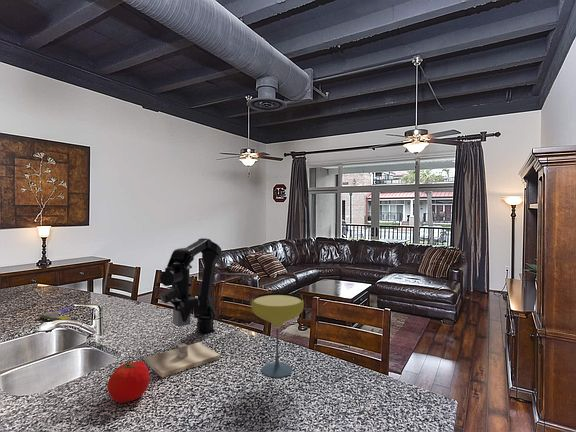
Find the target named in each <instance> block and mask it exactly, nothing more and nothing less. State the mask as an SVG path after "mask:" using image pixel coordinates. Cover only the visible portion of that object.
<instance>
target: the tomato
mask: <svg viewBox="0 0 576 432" xmlns="http://www.w3.org/2000/svg"><path fill="white" fill-rule="evenodd" d="M149 384H150V372H149V369H148V367H147V365H146V363H145V361H142V360H137V361H133V362H129V360H126V363H123V364H121V365H120V366H117V367H116V368H115V370H113V372H112V374H111V376H110V377H109V378H108V382H107V386H106V390H107V392H108V394H109V396H110V398H111V399H112V400H113V402H116V403H120V404H123V403H127V402H132V401H135V400H136V399H139V398H140V397H141V396H143V394H144V393H145V392H146V390H147V388H148V387H149Z"/></svg>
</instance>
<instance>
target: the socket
mask: <svg viewBox="0 0 576 432" xmlns="http://www.w3.org/2000/svg"><path fill="white" fill-rule="evenodd" d="M178 306H179V305H178ZM172 324H173V325H174V326H176V327H183V326H188V325H191V313H190V314H189V316H188V318H187V321H186V322H183V318H182V310H181V308H180V307H177V308H174V307H173V308H172Z"/></svg>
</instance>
